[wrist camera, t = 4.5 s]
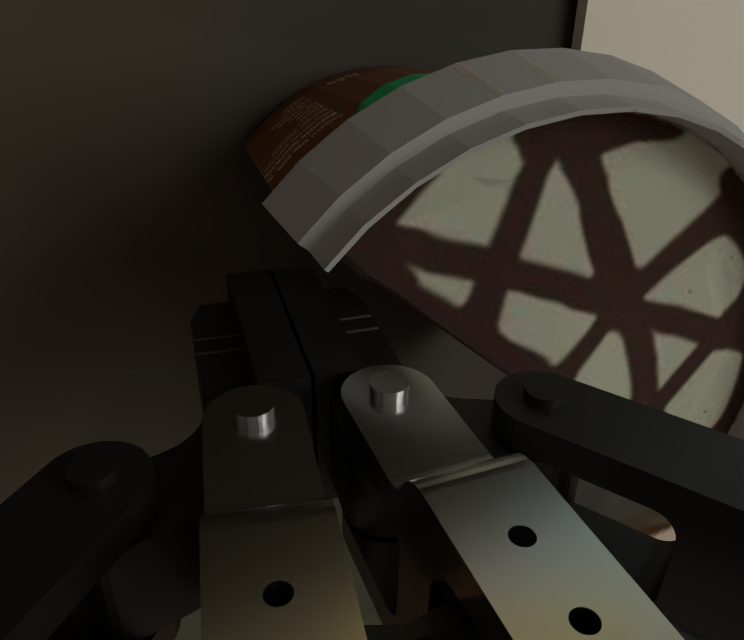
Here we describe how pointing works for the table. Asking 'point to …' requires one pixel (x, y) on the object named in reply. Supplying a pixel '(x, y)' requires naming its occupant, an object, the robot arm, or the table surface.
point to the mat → (674, 44)
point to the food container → (533, 215)
